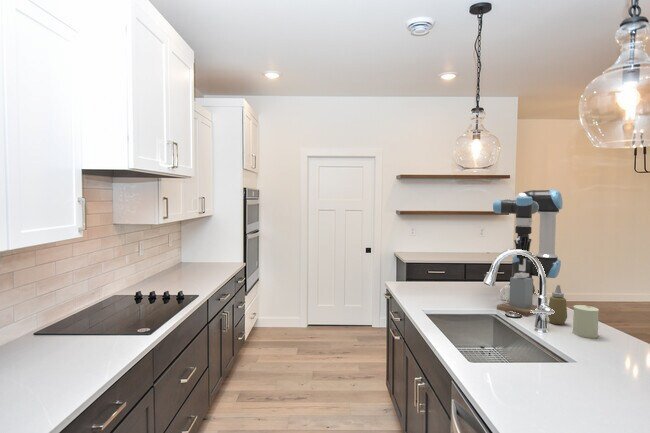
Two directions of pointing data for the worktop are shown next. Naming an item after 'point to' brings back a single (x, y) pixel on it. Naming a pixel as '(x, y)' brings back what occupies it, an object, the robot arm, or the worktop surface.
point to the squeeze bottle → (558, 307)
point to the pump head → (521, 275)
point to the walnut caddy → (516, 309)
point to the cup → (506, 292)
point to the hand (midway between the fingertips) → (522, 270)
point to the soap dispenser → (521, 292)
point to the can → (585, 321)
